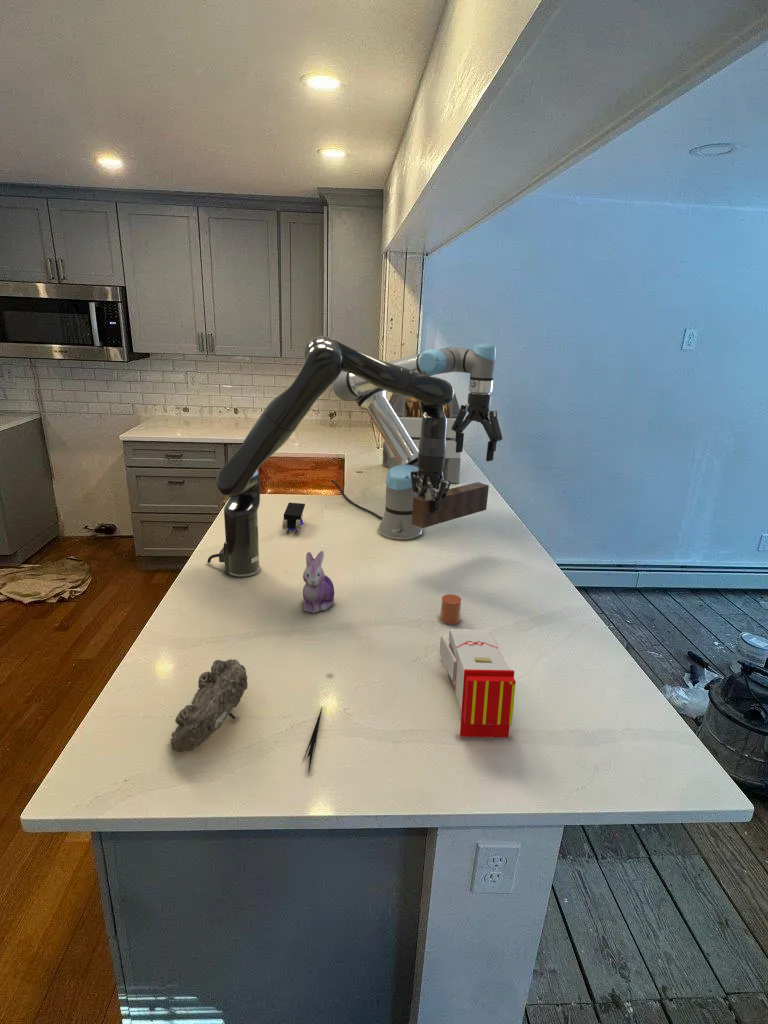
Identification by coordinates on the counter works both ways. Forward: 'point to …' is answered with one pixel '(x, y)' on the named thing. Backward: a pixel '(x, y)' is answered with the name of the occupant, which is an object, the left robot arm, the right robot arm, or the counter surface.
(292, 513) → the figurine character
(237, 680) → the fossil
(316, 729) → the feather
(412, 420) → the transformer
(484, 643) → the toy
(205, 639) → the counter surface
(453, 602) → the cylinder block
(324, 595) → the figurine
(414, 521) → the bar
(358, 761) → the counter surface
